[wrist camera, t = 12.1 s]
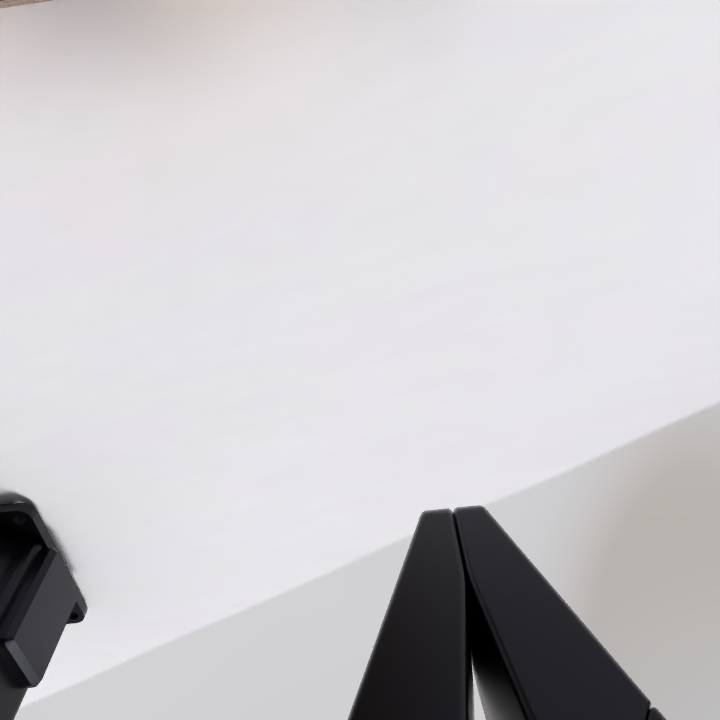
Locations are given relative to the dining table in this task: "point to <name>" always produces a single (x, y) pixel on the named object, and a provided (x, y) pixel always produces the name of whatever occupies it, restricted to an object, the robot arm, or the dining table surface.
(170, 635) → the dining table surface
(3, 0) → the cabinet
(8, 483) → the dining table surface
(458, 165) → the dining table surface
